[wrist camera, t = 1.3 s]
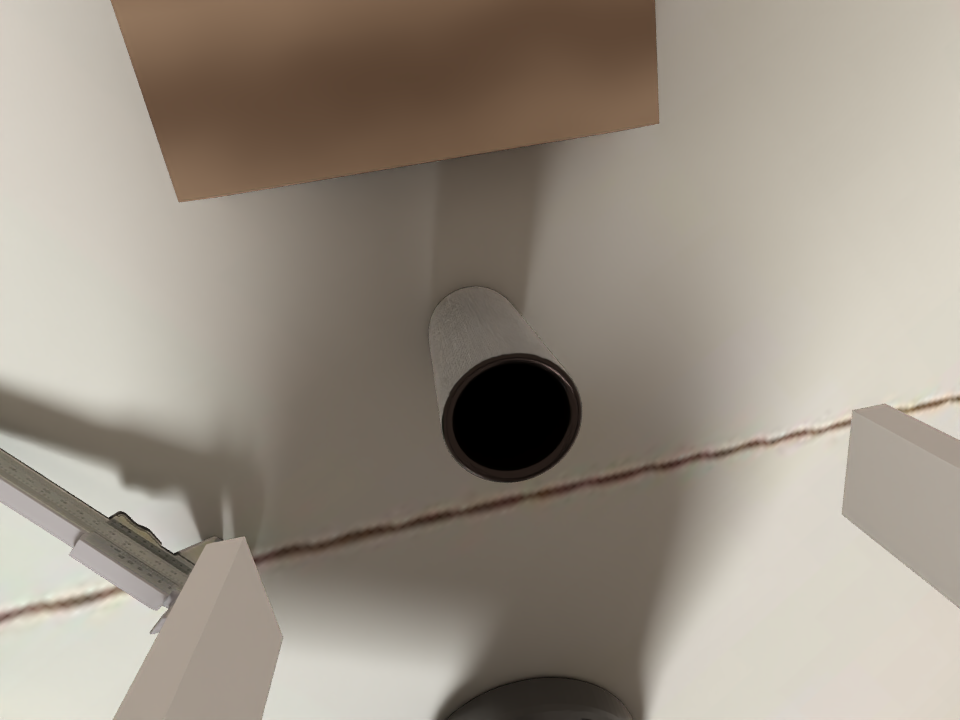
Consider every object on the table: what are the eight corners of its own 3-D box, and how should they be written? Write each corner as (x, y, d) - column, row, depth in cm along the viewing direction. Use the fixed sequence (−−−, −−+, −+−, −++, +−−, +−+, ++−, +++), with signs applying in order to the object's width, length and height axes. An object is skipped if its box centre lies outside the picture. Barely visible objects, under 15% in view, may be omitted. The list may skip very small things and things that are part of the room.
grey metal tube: (408, 332, 26) (410, 427, 16) (474, 265, 25) (516, 322, 16) (473, 391, 27) (510, 509, 18) (537, 329, 27) (611, 416, 17)
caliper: (255, 551, 29) (218, 646, 23) (245, 565, 29) (205, 662, 24) (-173, 339, 23) (-370, 396, 17) (-183, 359, 23) (-381, 422, 17)
